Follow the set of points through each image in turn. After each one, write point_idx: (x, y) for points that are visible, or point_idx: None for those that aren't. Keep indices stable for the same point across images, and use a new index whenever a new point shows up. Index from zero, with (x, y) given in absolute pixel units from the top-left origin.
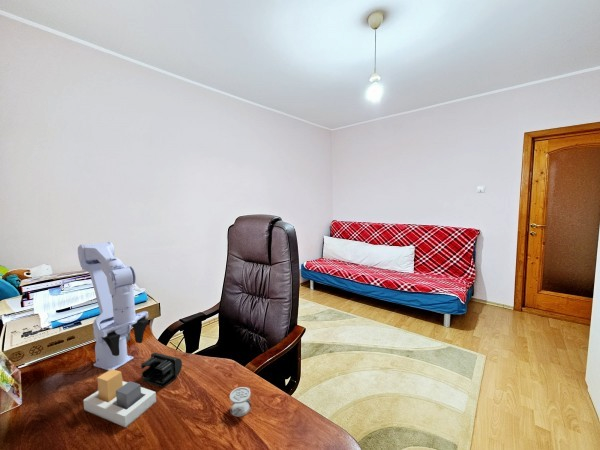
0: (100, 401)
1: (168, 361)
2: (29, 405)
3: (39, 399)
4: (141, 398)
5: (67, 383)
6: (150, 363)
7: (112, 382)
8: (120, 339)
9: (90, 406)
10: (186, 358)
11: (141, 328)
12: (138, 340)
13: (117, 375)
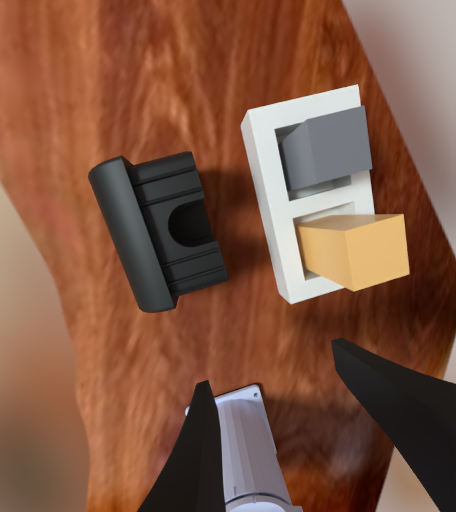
0: None
1: (143, 189)
2: None
3: None
4: (291, 122)
5: (339, 413)
6: (205, 246)
7: (368, 218)
8: (238, 504)
9: None
10: (52, 263)
11: (200, 482)
12: (213, 404)
13: (358, 225)
